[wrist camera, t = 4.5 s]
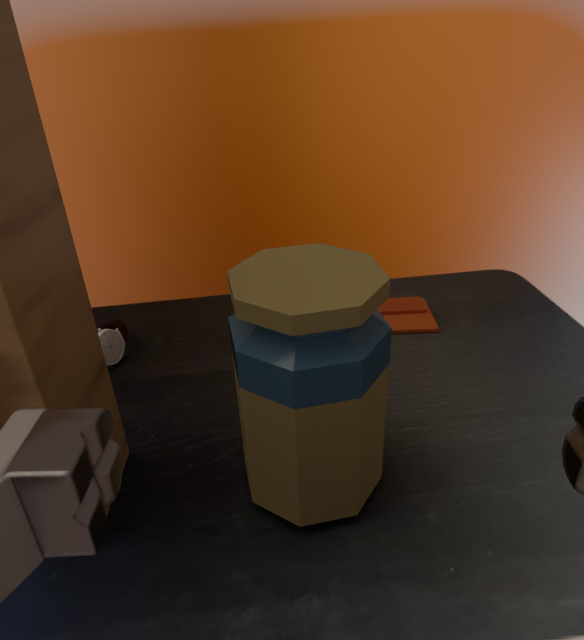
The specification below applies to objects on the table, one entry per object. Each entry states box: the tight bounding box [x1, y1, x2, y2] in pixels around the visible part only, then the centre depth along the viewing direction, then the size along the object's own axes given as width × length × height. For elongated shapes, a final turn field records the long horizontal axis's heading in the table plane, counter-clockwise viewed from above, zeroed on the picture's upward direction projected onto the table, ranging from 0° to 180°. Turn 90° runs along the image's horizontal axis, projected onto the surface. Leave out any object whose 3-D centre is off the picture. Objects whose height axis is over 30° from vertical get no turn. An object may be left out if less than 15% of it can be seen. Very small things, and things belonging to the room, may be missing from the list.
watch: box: [97, 320, 129, 365], centre depth 47 cm, size 8×5×4 cm, turn 159°
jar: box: [227, 243, 392, 527], centre depth 31 cm, size 9×9×15 cm
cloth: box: [378, 297, 439, 334], centre depth 52 cm, size 14×6×1 cm, turn 91°
